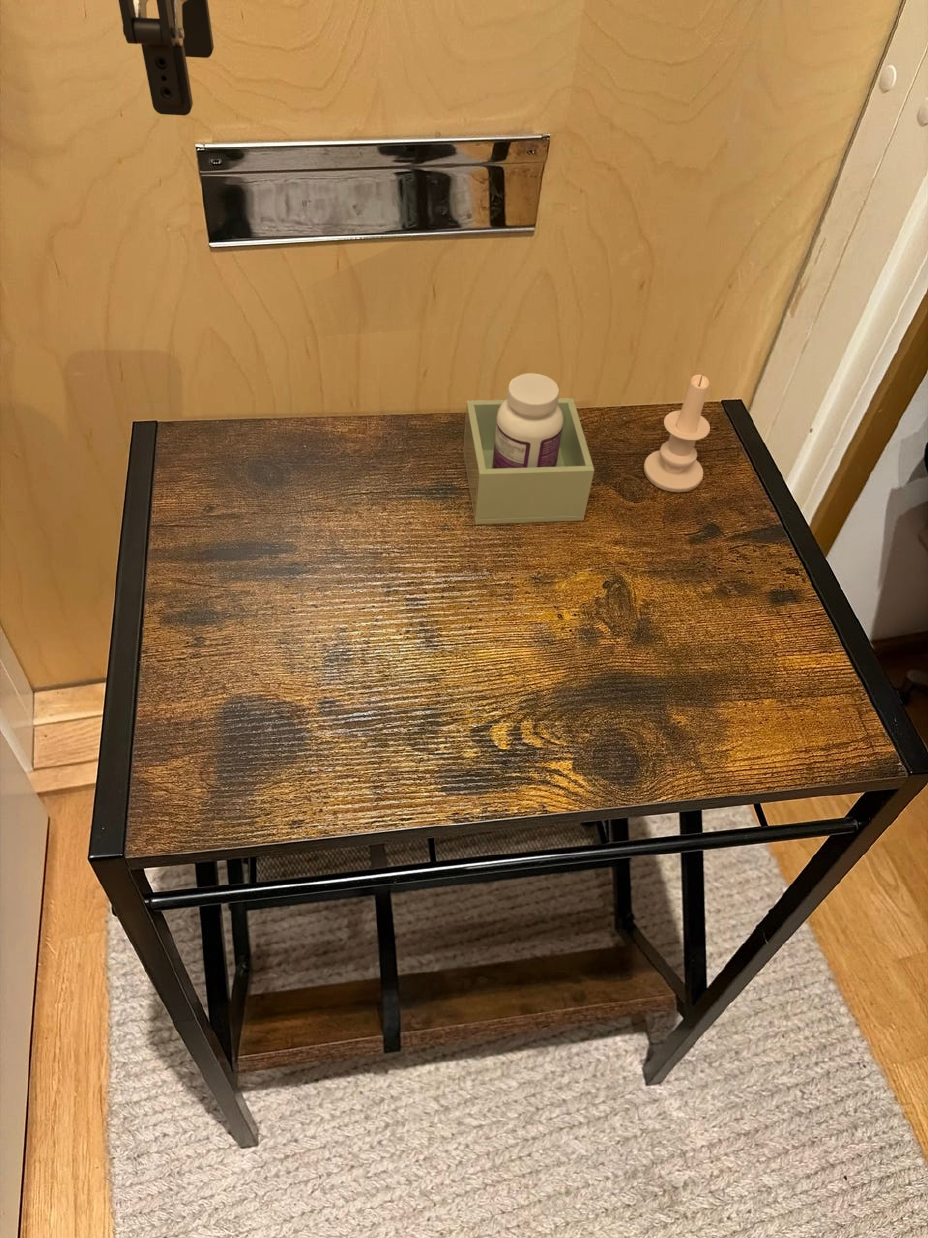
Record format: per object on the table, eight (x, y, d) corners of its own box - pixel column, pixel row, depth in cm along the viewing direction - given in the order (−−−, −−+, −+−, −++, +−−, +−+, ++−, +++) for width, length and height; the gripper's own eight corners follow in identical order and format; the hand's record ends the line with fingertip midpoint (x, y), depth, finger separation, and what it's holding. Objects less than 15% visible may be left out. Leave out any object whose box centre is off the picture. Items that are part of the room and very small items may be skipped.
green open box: (583, 520, 79) (594, 470, 75) (474, 524, 78) (479, 473, 73) (564, 448, 85) (573, 397, 80) (462, 451, 84) (466, 400, 79)
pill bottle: (542, 456, 83) (557, 363, 75) (561, 497, 80) (578, 404, 72) (483, 463, 82) (492, 370, 74) (499, 505, 79) (510, 412, 71)
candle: (708, 492, 82) (742, 394, 74) (650, 493, 81) (678, 395, 73) (693, 452, 85) (724, 355, 77) (637, 453, 85) (662, 355, 77)
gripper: (84, -303, 50) (146, 36, 63) (9, -254, 41) (98, 130, 54) (227, -292, 51) (260, 42, 63) (183, -241, 42) (232, 137, 54)
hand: (186, 82), depth 58 cm, fingers open, 8 cm apart
